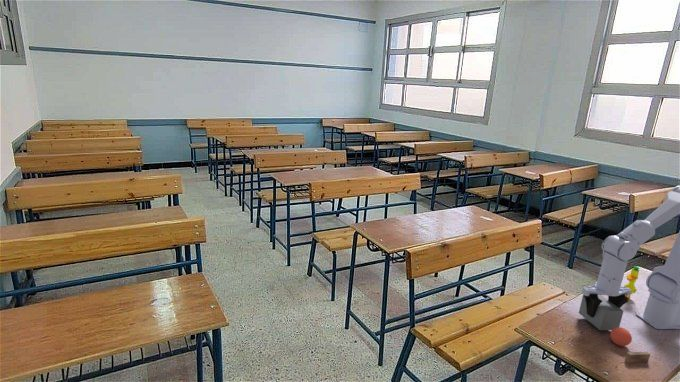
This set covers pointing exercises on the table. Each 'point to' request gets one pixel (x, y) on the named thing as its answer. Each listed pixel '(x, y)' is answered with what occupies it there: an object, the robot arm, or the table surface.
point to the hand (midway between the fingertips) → (599, 315)
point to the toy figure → (632, 280)
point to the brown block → (637, 357)
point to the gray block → (603, 314)
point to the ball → (620, 336)
